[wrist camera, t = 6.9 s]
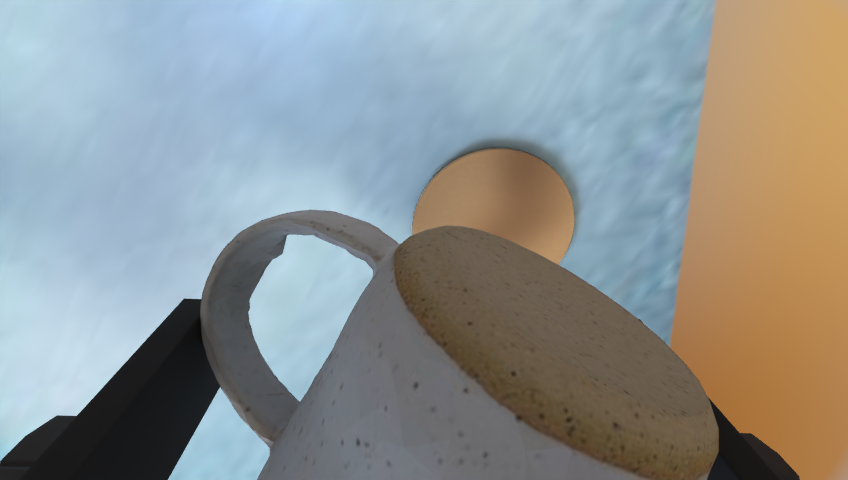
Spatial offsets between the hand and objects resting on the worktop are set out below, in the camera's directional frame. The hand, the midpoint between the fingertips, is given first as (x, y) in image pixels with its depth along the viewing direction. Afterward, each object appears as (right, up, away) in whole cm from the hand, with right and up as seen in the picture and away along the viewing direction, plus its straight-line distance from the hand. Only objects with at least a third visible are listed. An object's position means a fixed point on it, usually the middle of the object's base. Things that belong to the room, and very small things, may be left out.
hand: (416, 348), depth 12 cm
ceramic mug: (0, 0, +1) cm, 1 cm away
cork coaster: (+5, +4, +17) cm, 18 cm away
